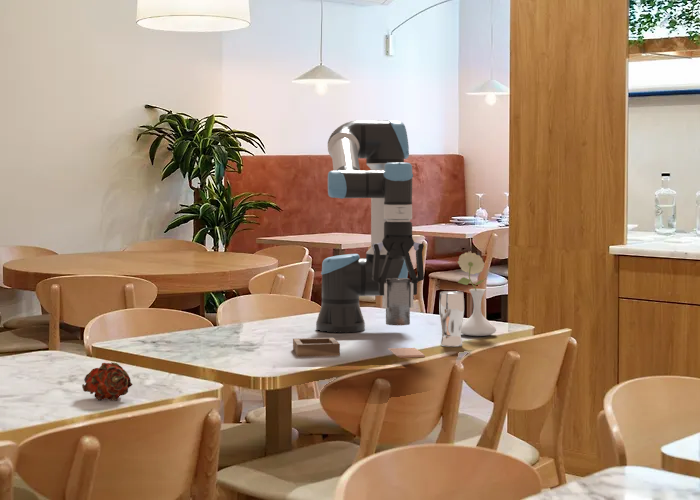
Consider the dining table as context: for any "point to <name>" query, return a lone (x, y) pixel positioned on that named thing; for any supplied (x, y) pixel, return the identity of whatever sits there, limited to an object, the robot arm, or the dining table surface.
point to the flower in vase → (474, 297)
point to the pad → (406, 352)
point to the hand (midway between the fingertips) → (397, 307)
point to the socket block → (316, 347)
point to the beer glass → (451, 317)
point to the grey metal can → (398, 301)
